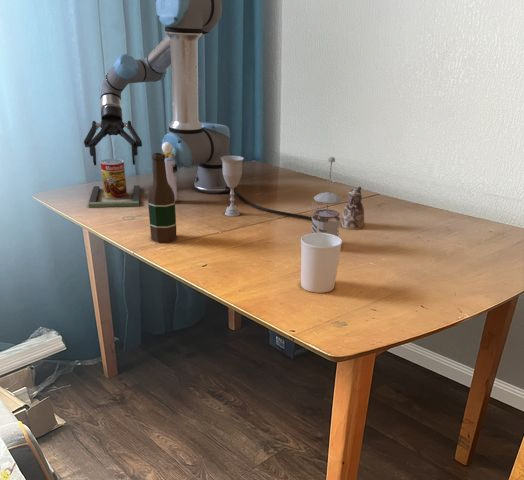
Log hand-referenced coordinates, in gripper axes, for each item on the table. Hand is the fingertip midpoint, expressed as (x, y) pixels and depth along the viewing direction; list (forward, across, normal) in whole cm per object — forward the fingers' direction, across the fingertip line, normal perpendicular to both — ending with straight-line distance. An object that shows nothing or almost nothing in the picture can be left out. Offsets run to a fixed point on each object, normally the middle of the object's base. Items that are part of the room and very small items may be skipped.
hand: (114, 163), depth 196 cm
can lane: (+13, 0, -1) cm, 13 cm away
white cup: (+71, -52, +55) cm, 103 cm away
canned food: (+12, 0, -3) cm, 12 cm away
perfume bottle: (+18, -19, +3) cm, 26 cm away
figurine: (+40, -75, +25) cm, 89 cm away
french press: (+51, -61, +36) cm, 87 cm away
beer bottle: (+44, -15, +29) cm, 55 cm away
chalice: (+29, -38, +14) cm, 50 cm away
